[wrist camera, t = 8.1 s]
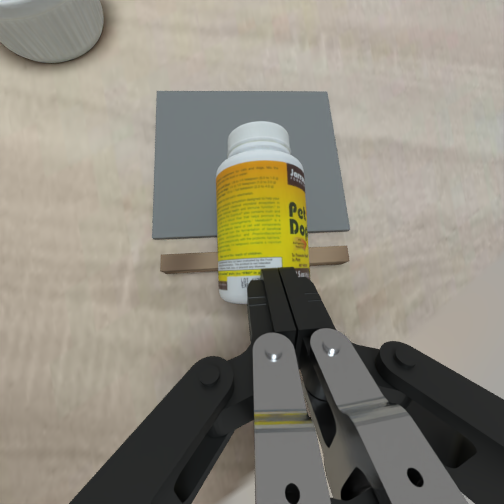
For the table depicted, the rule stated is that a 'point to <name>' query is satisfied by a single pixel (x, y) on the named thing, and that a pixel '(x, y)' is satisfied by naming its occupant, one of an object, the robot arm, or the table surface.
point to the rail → (210, 260)
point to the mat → (215, 153)
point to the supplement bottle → (259, 209)
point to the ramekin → (50, 28)
